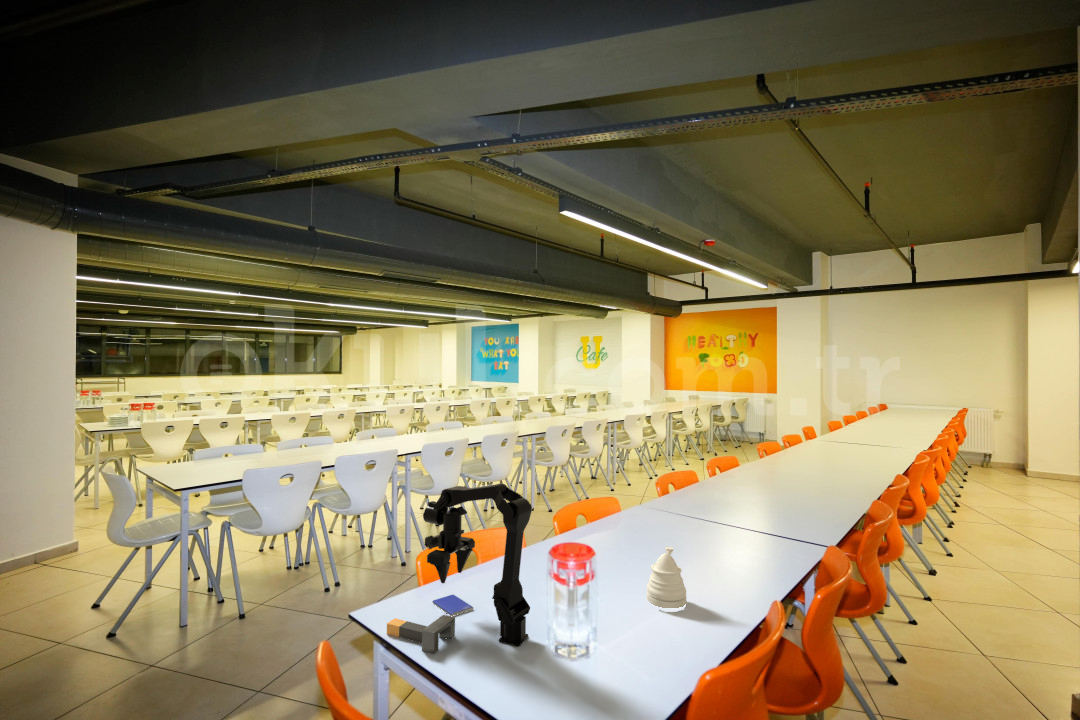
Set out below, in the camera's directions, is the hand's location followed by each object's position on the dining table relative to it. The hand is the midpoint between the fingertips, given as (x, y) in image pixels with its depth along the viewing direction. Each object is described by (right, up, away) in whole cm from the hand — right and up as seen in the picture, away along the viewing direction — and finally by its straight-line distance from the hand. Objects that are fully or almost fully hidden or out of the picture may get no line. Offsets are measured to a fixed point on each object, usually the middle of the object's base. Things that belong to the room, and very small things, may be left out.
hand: (451, 577), depth 157 cm
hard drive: (-1, -13, +6) cm, 15 cm away
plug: (-10, -11, -13) cm, 20 cm away
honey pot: (+70, -13, +10) cm, 72 cm away
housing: (-1, -11, -17) cm, 20 cm away
